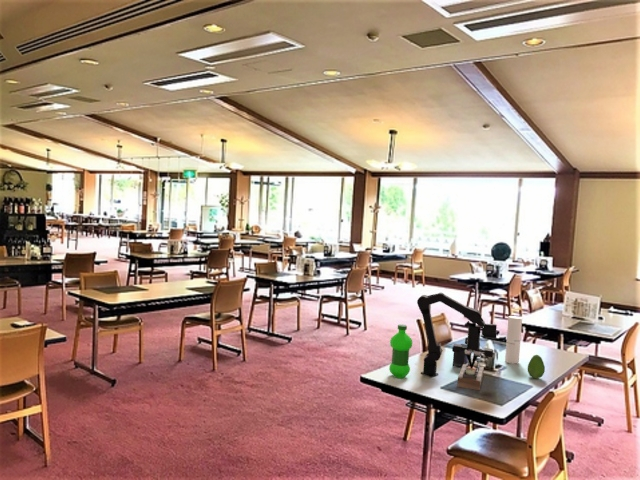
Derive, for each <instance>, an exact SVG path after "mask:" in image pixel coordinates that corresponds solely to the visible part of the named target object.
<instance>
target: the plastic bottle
mask: <svg viewBox="0 0 640 480" xmlns="http://www.w3.org/2000/svg"><path fill="white" fill-rule="evenodd" d="M407 328H408V326H407V325H406V324H398V325H397V330H398V332H396V334H394V335H393V336H392V337H391V338H390V343H389V344H390V347H391V348H392V353H391V354H392V355H391V363H390V365H389V373H390V374H391V375H392V376H393V377H394V378H397V379H404V378H406V377H407V376H408V374H409V373H410V371H411V367H410V364H409V357H410V356H409V355H410V350H411V348H412V347H413V339H412V338H411V337H410V335H409V334H407V332H406V330H407Z"/></svg>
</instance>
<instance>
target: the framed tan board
mask: <svg viewBox="0 0 640 480" xmlns="http://www.w3.org/2000/svg"><path fill="white" fill-rule="evenodd" d="M467 367H470V365H469V363H467V364H463V366H462V368H460V372H459V374H458V377H457V381H456V382H457V384H456V385H457V386H456V387H457V388H463V389H470V390H475V389H476V390H475V391H480V390H481V386H482V381H483V377H484V370H485V369H484V367H485V366H482V365H481V366H480V364H479V363H477V366H473V367H475V368H476V371H475V375H467V374H466V369H467Z"/></svg>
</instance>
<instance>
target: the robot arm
mask: <svg viewBox="0 0 640 480" xmlns="http://www.w3.org/2000/svg"><path fill="white" fill-rule="evenodd" d="M416 302H417V303H416V304H417V307H418V309H419V310H420V311H419V312H420V313H421V315H422V318H423V322H424V328H425V333H426V338H427V343H428V346H427V349H428V352H427V354H425V356H424V358H423V369H422V370H423V371H420V374H422V375H425V376H427V377H430V378H431V377H434V376H439V373H437V369H438V368H437V366H438V365H437V364H438V361H439V360H440V359H441V357H442V355H443V349H442V343H441V342H440V343H438V341H437V337H436V333H435V328H434V323H433V319H432V314H431V312H432V311H431V309H432V307H431V305H433V304H436V303H442V304H444V305H445V306H448V307H450V308H451V309H453V310H454V311H456V312H458V313H460V314H461V315H462V316H464V317H465V319H467V321H466V323H464V327H468V328H467V337H464V338H465V339H464V344H465V345H467V347H462V345H460V344H461V343H460V344H459V343H455V344H453V345H452V348H451V349H452V350H451V351H452V352H453V353H454V352H458V353H459V352H460V351H464V352H465V353H464V355H466V356H467V358H468V361H469V364H470V368H473V365H474V363H475V361H477V359H478V358H480V357H481V354H482V355H484V357H487V358H493V356H494V350H493V348H488V347H485V348H484V349H480V348H481V347H480V346H481V342H480V340H481V336H482V337H483V338H486V339H495V340H496V339H497V334H498V333H497V332H498V331H497V328H498V327H497V324H496V323H493V324H492V323H486V322H485V320H484V319H483V317H482V312H481V310H479V309H476V308H473V307H470V306H466V305H464V304H462V303H461V302H458V301H457V300H455V299H453V298H452V297H450V296H448V295H446V294H444V293H443V292H439V293H435V294H430V295H427V294H422V295H421V296H420V297H418V298H417V301H416ZM471 352H472V353H473V356H472V354H471ZM472 357H473V358H472Z"/></svg>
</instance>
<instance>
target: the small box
mask: <svg viewBox="0 0 640 480" xmlns="http://www.w3.org/2000/svg"><path fill="white" fill-rule="evenodd" d="M460 345H462V347H467V344H465V343H460ZM464 353H465V352H464V351H460V352H459V353H458V352H453V360H452V367H456V368H460V369H462V366H463V364H467V363H469V361H468V358H467V356H466V355H464ZM472 354H473V352H471V355H472Z"/></svg>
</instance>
